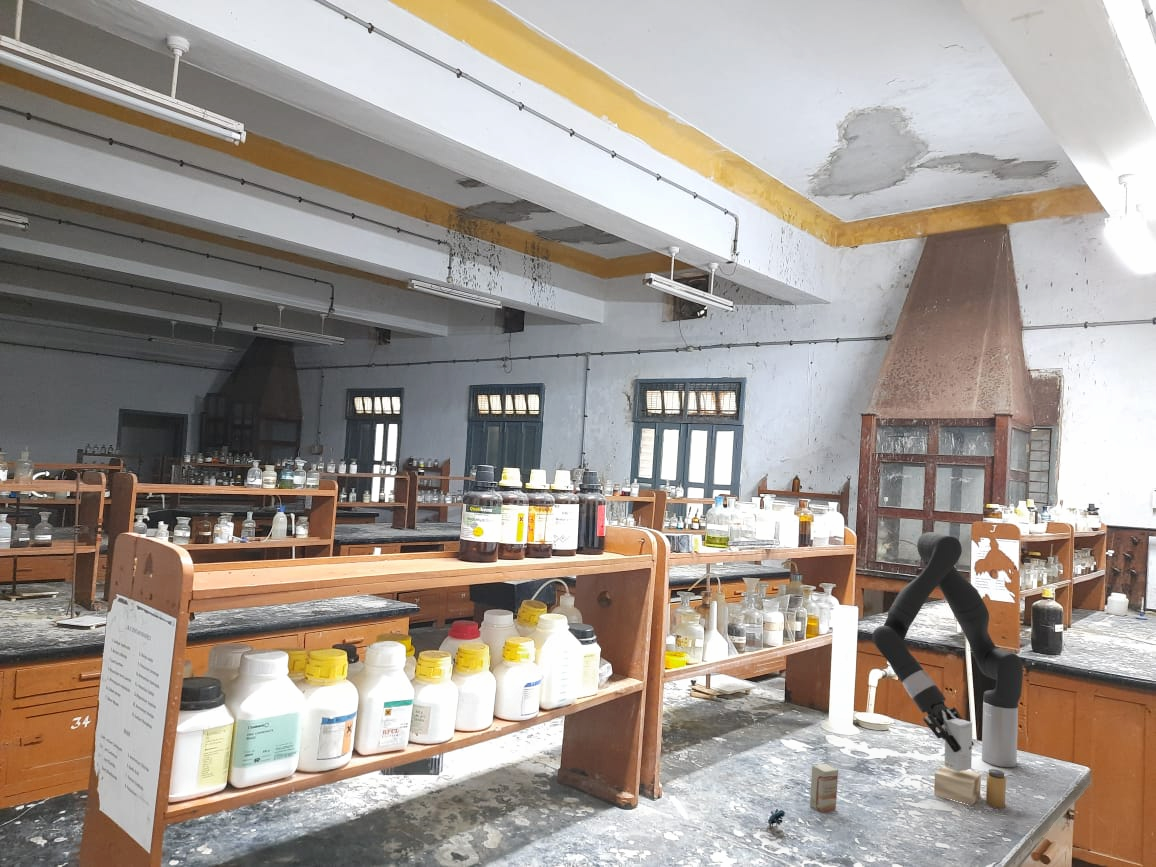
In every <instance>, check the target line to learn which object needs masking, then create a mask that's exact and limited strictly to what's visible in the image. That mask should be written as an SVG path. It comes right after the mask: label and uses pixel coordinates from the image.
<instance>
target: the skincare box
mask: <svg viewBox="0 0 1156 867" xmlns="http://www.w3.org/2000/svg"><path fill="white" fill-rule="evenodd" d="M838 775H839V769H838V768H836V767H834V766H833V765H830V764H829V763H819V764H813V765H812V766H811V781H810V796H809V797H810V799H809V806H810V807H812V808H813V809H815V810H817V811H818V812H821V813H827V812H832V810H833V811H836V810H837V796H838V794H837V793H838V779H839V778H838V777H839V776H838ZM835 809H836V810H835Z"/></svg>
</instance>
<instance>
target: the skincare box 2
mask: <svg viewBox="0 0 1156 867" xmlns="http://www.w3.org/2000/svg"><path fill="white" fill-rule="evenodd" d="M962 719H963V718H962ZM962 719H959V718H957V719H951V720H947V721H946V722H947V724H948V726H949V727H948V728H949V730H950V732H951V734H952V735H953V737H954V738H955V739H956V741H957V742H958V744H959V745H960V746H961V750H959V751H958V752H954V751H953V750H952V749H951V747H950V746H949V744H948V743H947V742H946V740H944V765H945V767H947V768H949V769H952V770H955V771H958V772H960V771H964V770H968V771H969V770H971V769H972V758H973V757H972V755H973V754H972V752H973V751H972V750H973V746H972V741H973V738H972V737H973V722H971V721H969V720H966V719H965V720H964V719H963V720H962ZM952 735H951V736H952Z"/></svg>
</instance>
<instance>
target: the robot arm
mask: <svg viewBox="0 0 1156 867" xmlns="http://www.w3.org/2000/svg"><path fill="white" fill-rule="evenodd" d="M916 544H917V546H916V548H917V553H918V554H919V557H920V558H921V560H922V561H923V564H925V566H926V567H924V569H923V571H922V572H920V574H918V576H916V577H915V578H914V579H913V580H911V581H910V582H909V583H908V584H906V585H905V586H904V587H903V588H902V589H901V590H900V592H898V594H897V596H896V597H895V599H894V601H893V602H892V604H891V606H890V608H889V610H888V612H887V617H886V619H885V620H886V621H884V624H883V625H879V626H878V627H876V628H874V630H873V632H872V642H873V645H874V646H875V647H876V649H877V650H878V651H879V652H880V653H881V654H882V656H883V658H885V660H886V661H887V663H888V664H889V665H890V667H891V669H892V670H893V672H894V673H895V675H896V677H897V678H898V680H899V681H900V682H901V684H902V686H903V687H904V689H905V691H906V692H907V694H908V695H909V697H910V698H911V699H912V701H913V702H914V704H915V705H916V706H917V708H918V709H919V711H920V712H921V714H927V715H926V716H924V717H923V721H924V723H925V724H926V725H927V727H928V728H929V729H930V730H931V732H933V734H934V736H936V738H937V739H942V740H944V741H945V740H946V742H947V743H948V744H949V746H950V747H951V749H952V750H953V751H954V752H958V751H959V750H961V746H960V745H959V744H958V742H957V741H956V739H955V738H954V737H953V735H952V734H951V732H950V730H949V728H948V727H949V726H948V724H947V722H946V721H947V720H951V719H957V718H959V719H962V720H964V719H963V717H962V716H961V714H960V713H959V711H958V710H957V708H956V707H954V706H953V707H951V708H949V707H948V706H946V705H945V702H946V700H947V699H946V697H945V695H944V694H943V692H942V691H941V690H940V688H939V687H938V685H936V684H935V682H934V681H933V678H931V676H930V675H929V674H928V673H927V672H926V671H925V670H924V668H923V667H922V666H921V664H920V663H919V661H918V660H917V659H916V658H915V657H914V656H913V654H911V652H910V651H909V650H908V647H907V646H906V644H905V643H904V641H905V638H906V636H907V634H908V632H909V629H910V626H911V625H912V624H913V622H914V621H915V620H916V617H917V616H918V614H919V612H920V610H921V609H922V606H924V604H925V603H926V601H927V599H928V598H929V596H930V595H931V594H932V593H933V592H934V590H935V589H936V588H937V587H939V589H940V590H941V593H942V594H943V596H944V598H945V599H946V601H947V602H946V603H947V604H948V606H949V608H950V610H951V612H952V613H953V616H954V618H955V620H956V621H957V623H958V624H959V626H960V628H961V630H962V632H963V634H964V636H965V638H966V640H967V643H968V644H969V647H970V649H971V652H972V654H973V657H974V659H975V662H976V665H977V667H978V669H979V670H980V672H981V673H982V674H983V675H984V676H985V677H987V678H990V679H993V680H995V681H996V682H995V688H994V689H989V690H985V691H984V692H983V698H982V699H983V700H982V701H983V702H982V730H981V731H982V734H981V735H982V736H981V737H982V738H981V759H982V760H983V762H986V763H988V764H990V765H993V766H996V767H997V766H998V767H1002V768H1015V767H1017V762H1018V761H1017V757H1018V727H1019V725H1018V724H1019V723H1018V722H1019V718H1018V717H1019V715H1018V714H1019V701H1020V699H1021V698H1022V697H1021V696H1022V690H1023V689H1022V688H1023V687H1022V686H1023V678H1024V677H1023V676H1024V665H1023V661H1022V659H1021V657H1020V656H1019V655H1017V654H1016V653H1013V652H1011V651H1007V650H1005V649H1001V648H998V647H997V646H996V645H995V643H994V642H993V640H992V638H991V636H990V633H989V631H988V628H989V623H990V622H989V621H990V613H989V610H988V608H987V605H986V603H985V602H984V600H983V598H982V596H981V594H980V593H979V592H978V590H977V589H976V588H975V586H973V585H972V583H970V581H969V580H968V579H967V578H966V577H964V576H963V574H961V573H960V572H959V570H958V569H957V568H956V566H955V565H956V564H957V562H959V560H960V557H961V556H962V553H963V551H962V550H963V547H962V544H961V542H960V540H959V539H958V538H957V537H955V536H953V535H951V534H945V533H939V532H934V531H932V532H931V531H930V532H929V531H928V532H925V533H922V534H921V535H920V536H919V538H918V540H917V543H916ZM951 735H952V736H951ZM973 746H975V743H974V741H973V740H972V747H973Z"/></svg>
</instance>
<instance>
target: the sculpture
mask: <svg viewBox="0 0 1156 867" xmlns="http://www.w3.org/2000/svg"><path fill="white" fill-rule="evenodd" d="M770 813H771V815H770V817H768V820H767V823H768V825H767V826H766V830H767V832H768V833H770V834H774V835H775V836H777V837H779V838H783V837H785V836H786V834H785V832H784V829H783V828H782V827H779V826H780V825H781V824H782V823H783V819H784V817H785V813H786V811H785V810H784V809H783V808H782V809H778V808H776V809H775V811H774V812H773V810H770ZM774 824H775V825H774ZM778 825H779V826H778ZM782 836H783V837H782Z"/></svg>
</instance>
